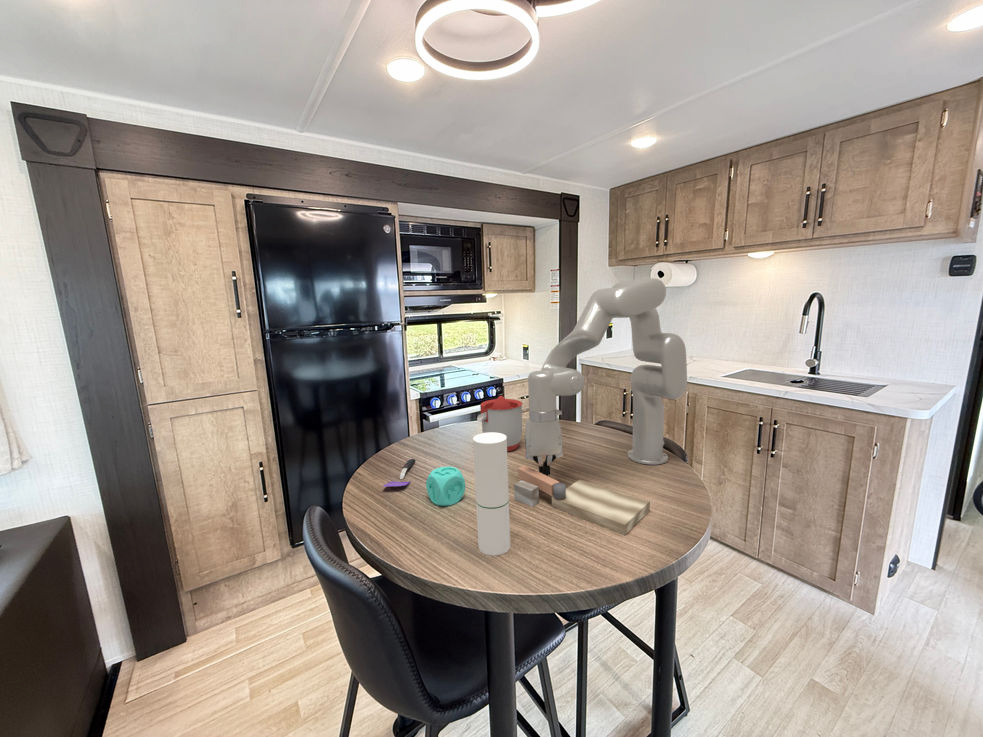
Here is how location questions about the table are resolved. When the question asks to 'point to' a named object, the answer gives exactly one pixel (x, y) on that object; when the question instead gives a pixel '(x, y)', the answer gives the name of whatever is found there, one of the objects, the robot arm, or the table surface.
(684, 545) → the table surface
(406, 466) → the spatula
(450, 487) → the decorative dice
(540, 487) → the stool leg
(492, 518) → the cylindrical container
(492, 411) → the citrus juicer
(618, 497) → the stool seat
